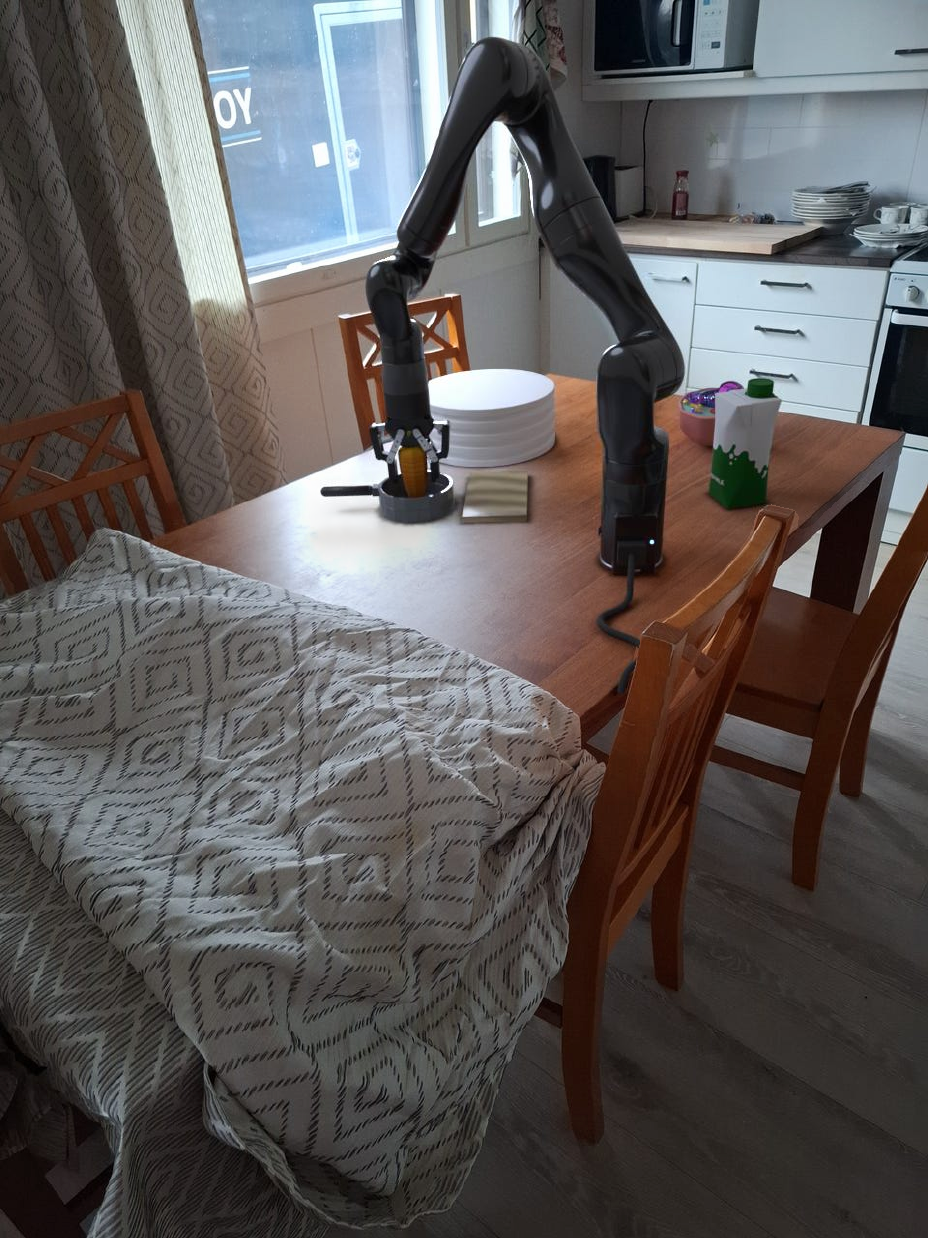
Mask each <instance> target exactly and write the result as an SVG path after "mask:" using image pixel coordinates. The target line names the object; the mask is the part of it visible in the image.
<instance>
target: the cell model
mask: <svg viewBox="0 0 928 1238" xmlns="http://www.w3.org/2000/svg"><path fill="white" fill-rule="evenodd" d="M739 389H745V387H744V385H742V384H741V383H740V382H738V381H735V380H728V381H724V382H722V383H721V384H720V385H719V387H705V388H701V389H698V390H695V391H689V392H686V393H684V394H683V395H682V396H681V397H680V398H679V399H678V401H677V409H678V410H677V412H678V426H679V428H680V430H681V432H682V433H683V434H684V435H686V436H687V437H688V438H689V439H690V440H692V441H693V442H695V443H696V444H699V445H704V446H710V447H713V444H714V432H715V393H721V392H729V390H739Z"/></svg>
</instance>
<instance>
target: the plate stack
mask: <svg viewBox="0 0 928 1238" xmlns="http://www.w3.org/2000/svg"><path fill="white" fill-rule="evenodd" d="M428 385H429V397H430V409H431V416H432V418H433V419H434V421H437V422H444V421H445V420H448V421H450V441H449V453H448V457H447V458H442V459H440V460H439V464H444V465H449V466H454V467H463V468H464V467H465V468H494V467H503V466H510V465H514V464H515V465H516V464H519V463H523V462H527V461H530V460H533V459H536V458H538V457H540V456H542V455H544V454H545V453H548V452H549V451H550V450H551V449H552V448H553V446H554V445H555V442H556V433H555V430H556V425H555V424H556V422H555V414H556V413H555V412H556V410H555V405H556V403H555V400H556V399H555V398H556V397H555V383H554V381H553V380H552V379H551V378H549V377H547V376H545V375H543V374H540V373H538V372H533V371H529V370H522V369H511V368H510V369H509V368H486V369H474V370H473V369H472V370H466V371H459V372H454V373H449V374H445V375H441V376H439V377H435V378H433V379H431V380H429V384H428ZM429 436H430V438H431V439H432V441H433V444H434V446H435V447H436V449H437V450H440V449H441V440H442V435H439V434H438V432H437V429H435V428H434V429H433V430H432V432H431V433H430V435H429ZM427 458H429V456H428V454H427Z"/></svg>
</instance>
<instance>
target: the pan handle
mask: <svg viewBox="0 0 928 1238" xmlns="http://www.w3.org/2000/svg"><path fill="white" fill-rule="evenodd" d="M378 486H379V483H373V484H372V485H371V484H367V485H366V484H365V485H364V484H363V485H336V486H335V485H334V486H332V485H331V486H323V487H321V488H320V495H321V496H322V497H325V498H333V497H334V498H335V497H336V498H337V497H366V496H372V497H379V495H378Z"/></svg>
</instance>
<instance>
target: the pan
mask: <svg viewBox="0 0 928 1238" xmlns="http://www.w3.org/2000/svg"><path fill="white" fill-rule="evenodd" d="M378 484H379V486H378V495H379V496H378V502H379V510H380V513H381V515H382V517H383V518H384V519H386V520H388V521H391V522H395V523H399V524H408V525H409V524H411V525H413V524H423V523H429V522H433V521H434V522H435V521H436V520H440V519H442V518H445V517H447V516H448V515H449V514H450V513H453V511H454V510H455V505H456V504H455V503H456V499H455V487H454V485H455V484H454V480H453V478H452V476H450V475H449V474H447V473H446V472H441V471H440V475H439V478H438V479H436V482H432V481H431V470H429V469H428V476H427V486H426V491H425V495H424V497H420V498H410V497H409V495H408V494H407V492H406V489H405V486H404V483H403V480H402V476H401V472H398V482H397V483H393V480H390V479H389V476H388V477H385V478H384V479H383V480H381V481H380V482H379V483H378Z"/></svg>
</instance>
